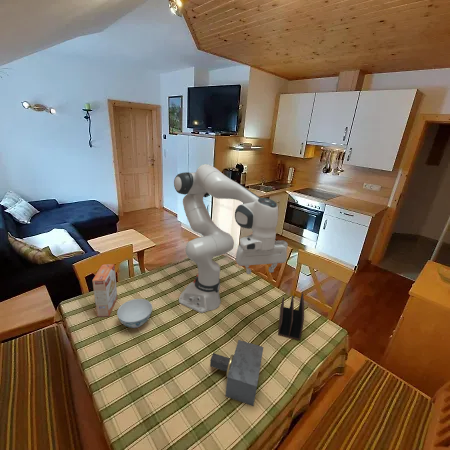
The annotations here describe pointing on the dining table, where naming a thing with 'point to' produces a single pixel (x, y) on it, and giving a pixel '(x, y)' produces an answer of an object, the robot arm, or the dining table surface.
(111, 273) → the cracker box
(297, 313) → the letter holder
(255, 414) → the dining table surface
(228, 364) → the brass flanged shaft
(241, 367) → the housing
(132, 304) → the chinaware
